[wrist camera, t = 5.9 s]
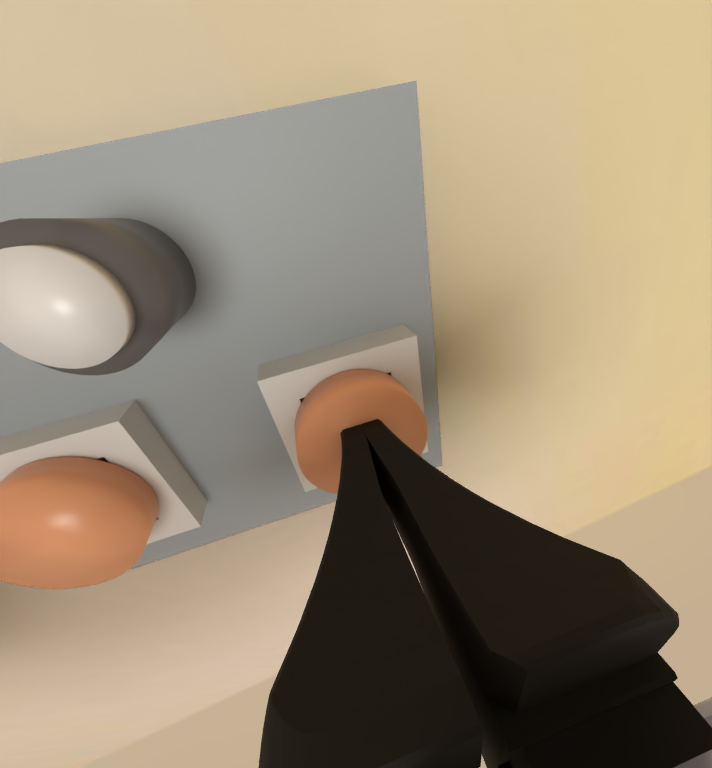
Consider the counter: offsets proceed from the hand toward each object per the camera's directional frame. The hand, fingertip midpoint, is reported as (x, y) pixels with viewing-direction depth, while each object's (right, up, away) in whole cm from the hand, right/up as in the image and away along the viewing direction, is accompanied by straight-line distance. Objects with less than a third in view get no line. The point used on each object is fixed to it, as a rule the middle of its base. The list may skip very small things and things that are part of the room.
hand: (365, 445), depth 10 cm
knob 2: (-1, +2, +4) cm, 4 cm away
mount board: (-6, +2, +2) cm, 7 cm away
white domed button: (-7, +5, -1) cm, 9 cm away
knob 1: (-11, -1, +3) cm, 11 cm away
